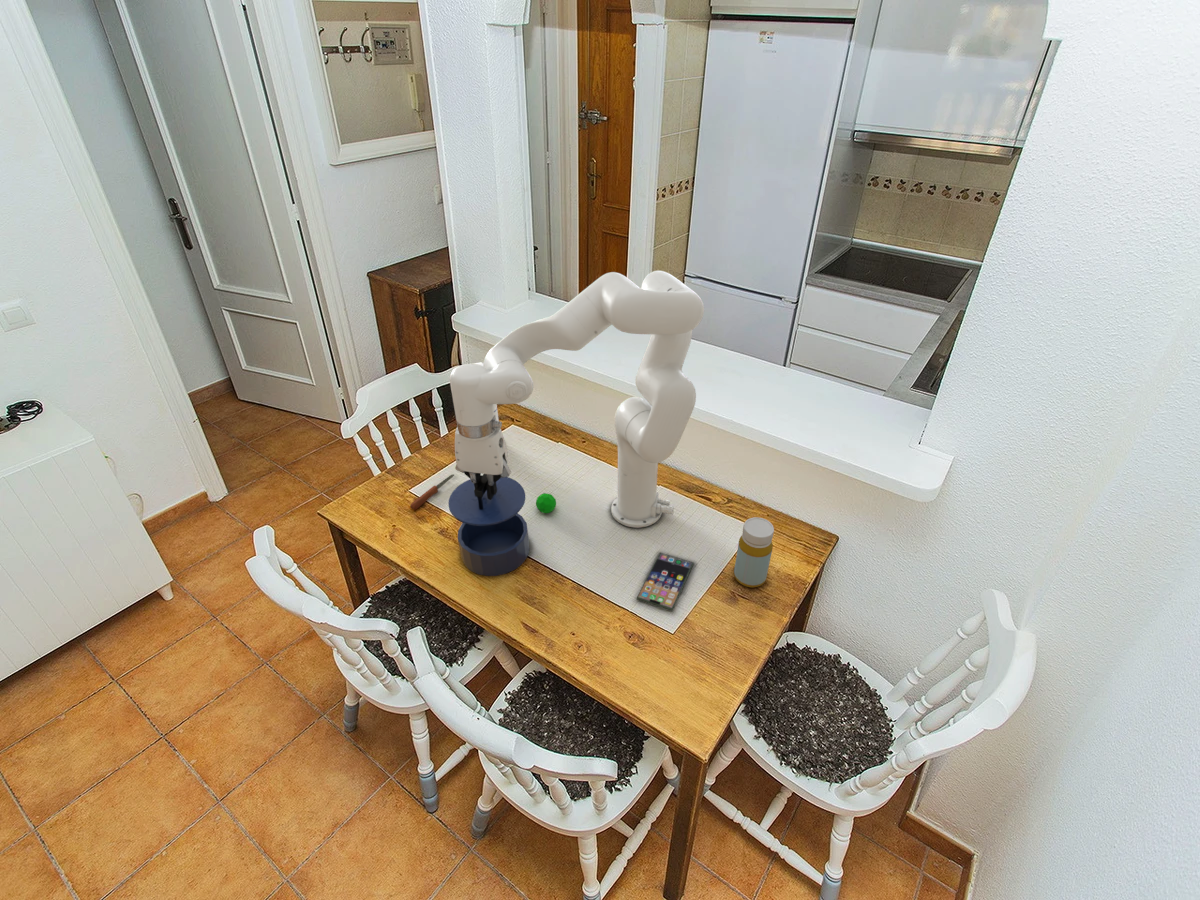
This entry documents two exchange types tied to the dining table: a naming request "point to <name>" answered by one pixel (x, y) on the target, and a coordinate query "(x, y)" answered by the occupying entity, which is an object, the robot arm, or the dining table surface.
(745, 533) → the bottle
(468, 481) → the lid
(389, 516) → the dining table surface
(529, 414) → the dining table surface
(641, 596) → the smartphone
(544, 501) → the polyhedron
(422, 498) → the kitchen knife
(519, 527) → the pot
